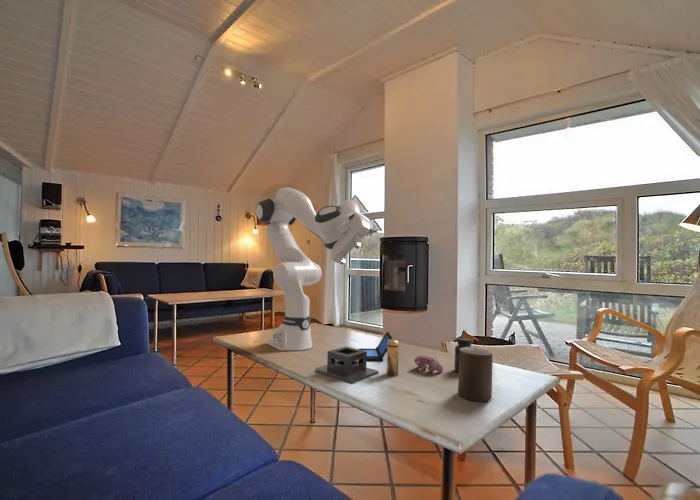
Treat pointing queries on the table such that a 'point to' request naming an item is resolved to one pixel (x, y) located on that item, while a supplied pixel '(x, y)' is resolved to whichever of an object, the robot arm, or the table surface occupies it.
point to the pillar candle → (475, 374)
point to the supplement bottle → (461, 343)
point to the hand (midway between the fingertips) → (349, 255)
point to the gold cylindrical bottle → (392, 357)
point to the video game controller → (428, 363)
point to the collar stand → (347, 365)
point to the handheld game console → (378, 349)
